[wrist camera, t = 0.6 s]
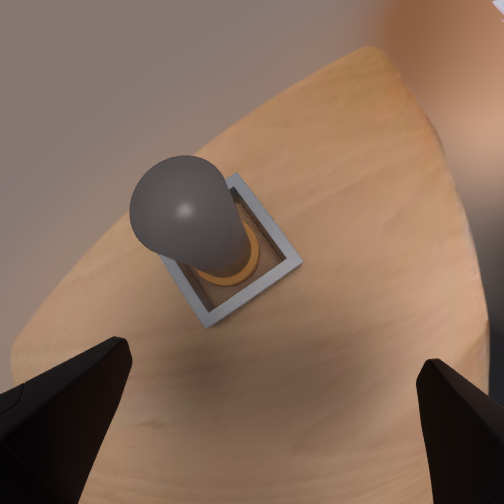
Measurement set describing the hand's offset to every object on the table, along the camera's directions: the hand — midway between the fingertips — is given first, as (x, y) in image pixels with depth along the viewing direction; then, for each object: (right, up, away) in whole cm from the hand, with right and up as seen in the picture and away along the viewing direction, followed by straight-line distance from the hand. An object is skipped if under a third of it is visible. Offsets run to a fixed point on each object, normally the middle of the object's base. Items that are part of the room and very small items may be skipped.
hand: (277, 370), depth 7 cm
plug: (-3, +3, +15) cm, 16 cm away
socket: (-3, +3, +15) cm, 16 cm away
